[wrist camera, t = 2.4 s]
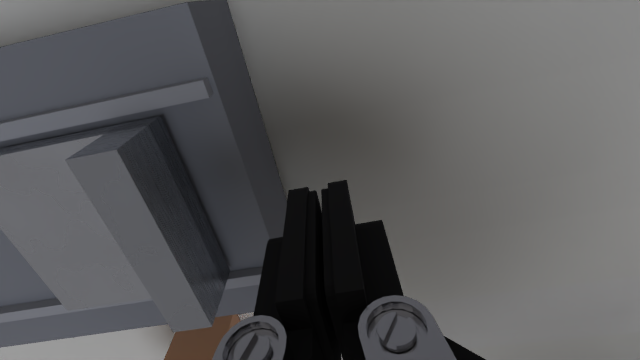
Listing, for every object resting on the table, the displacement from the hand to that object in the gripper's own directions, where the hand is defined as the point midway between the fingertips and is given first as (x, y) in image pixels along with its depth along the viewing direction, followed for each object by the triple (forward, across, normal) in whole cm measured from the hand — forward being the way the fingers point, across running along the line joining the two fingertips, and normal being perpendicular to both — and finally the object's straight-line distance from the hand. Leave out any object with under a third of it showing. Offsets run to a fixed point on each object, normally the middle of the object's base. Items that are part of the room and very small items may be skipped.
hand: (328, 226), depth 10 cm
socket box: (+9, +12, +1) cm, 15 cm away
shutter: (+4, +9, +1) cm, 10 cm away
